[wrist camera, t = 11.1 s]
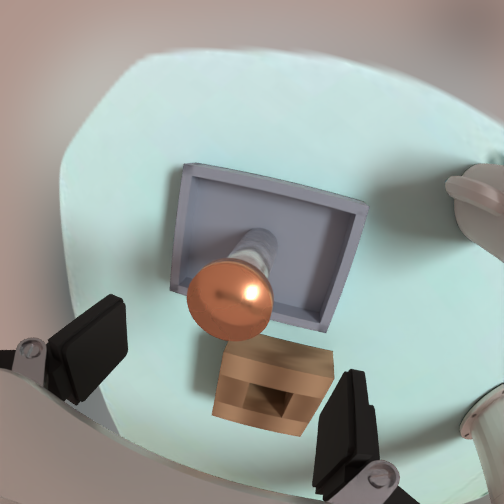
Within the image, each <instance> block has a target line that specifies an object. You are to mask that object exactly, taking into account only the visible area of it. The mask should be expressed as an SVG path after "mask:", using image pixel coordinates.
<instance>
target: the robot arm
mask: <svg viewBox="0 0 504 504" xmlns="http://www.w3.org/2000/svg"><path fill="white" fill-rule="evenodd" d="M127 352H128V342H127V326H126V305H125V303H123V299H122V298H120V297H117V296H115V295H113V294H109V295H108V296H106V297H105V298H103V299H102V300H101V301H99V302H98V303H96V304H95V305H94V306H92V307H91V308H90V309H88V310H87V311H85V312H84V313H83V314H81V315H80V316H79V317H77V318H76V319H75V320H73V321H72V322H71V323H69V324H68V325H67V326H65V327H64V328H63V329H61V330H60V331H59V332H58V333H56V334H55V335H53V336H52V337H51V338H49V339H48V343H47V344H45V343H44V341H42V340H41V339H39V338H27V339H24V340H23V341H21V342H20V343H19V344H18V346H17V348H16V350H0V504H420V503H418V502H417V501H416V500H415V499H414V498H412V497H411V496H410V495H409V494H408V493H406V492H405V491H404V490H403V489H402V488H400V487H399V486H398V484H399V480H400V475H399V472H398V470H397V468H396V467H395V466H394V465H393V464H392V463H390V462H388V461H384V460H380V455H379V443H378V433H377V424H376V415H375V409H374V406H373V405H369V401H368V393H367V385H366V378H365V372H364V371H359V370H354V369H350V370H349V371H348V372H346V371H345V372H344V373H343V375H342V377H341V378H340V380H339V382H338V384H337V386H336V387H335V389H334V391H333V393H332V395H331V396H330V398H329V400H328V402H327V403H326V405H325V407H324V408H323V410H322V412H321V414H320V416H319V422H318V435H317V446H316V456H315V465H314V473H313V481H312V486H313V487H316V492H315V494H320V495H323V500H324V501H320V500H315V499H309V498H304V497H299V496H293V495H287V494H282V493H277V492H273V491H268V490H264V489H259V488H255V487H251V486H247V485H243V484H240V483H236V482H232V481H229V480H225V479H222V478H219V477H216V476H213V475H210V474H207V473H204V472H201V471H198V470H195V469H192V468H190V467H187V466H184V465H182V464H179V463H177V462H174V461H172V460H170V459H167V458H165V457H162V456H160V455H158V454H156V453H153V452H151V451H149V450H147V449H145V448H143V447H141V446H139V445H137V444H135V443H133V442H131V441H129V440H127V439H125V438H123V437H121V436H119V435H117V434H115V433H114V432H112V431H110V430H108V429H107V428H105V427H103V426H101V425H100V424H98V423H96V422H95V421H93V420H91V419H90V418H88V417H87V416H85V415H83V414H82V413H80V412H79V411H77V410H76V409H74V408H73V407H71V406H70V405H68V404H67V403H65V402H64V401H65V400H66V399H67V400H69V401H70V402H72V403H73V404H75V405H78V403H79V402H80V401H81V402H83V401H85V400H86V399H87V398H88V396H89V395H90V394H91V393H92V392H93V391H94V390H95V389H96V388H97V387H98V386H99V385H100V383H101V382H102V381H103V380H104V379H105V378H106V377H107V376H108V375H109V374H110V373H111V372H112V370H113V369H114V368H115V367H116V366H117V365H118V364H119V363H120V362H121V361H122V360H123V359H124V358H125V356H126V355H127ZM460 433H461V436H462V437H463V438H465V439H473V441H474V444H475V447H476V450H477V453H478V456H479V459H480V463H481V466H482V469H483V473H484V476H485V480H486V484H487V488H488V492H489V496H490V500H491V504H504V384H502V385H500V386H498V387H497V388H495V389H494V390H492V391H491V392H489V393H488V394H487V395H485V396H484V397H483V398H482V399H481V400H480V401H478V402H477V403H476V404H475V405H474V406H473V407H472V408H471V410H470V411H469V412H468V413H467V414H466V416H465V417H464V419H463V421H462V422H461V425H460Z"/></svg>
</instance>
